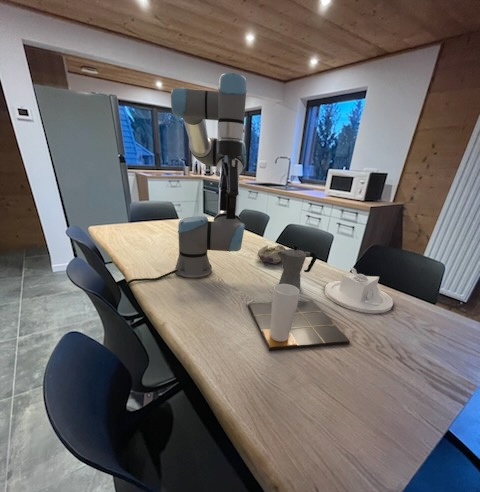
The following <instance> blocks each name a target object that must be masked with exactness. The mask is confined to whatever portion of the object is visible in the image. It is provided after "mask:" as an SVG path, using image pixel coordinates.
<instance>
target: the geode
mask: <svg viewBox="0 0 480 492" xmlns="http://www.w3.org/2000/svg"><path fill="white" fill-rule="evenodd" d="M284 250H287V248H285V247H284V246H283V245H281V244H278V245H277V246H273V247H272V246H270V247H269V245H265V246H263V247H261V248H260V249H258V251H257V254H256V257H258V258H259V260H260V261H261V262H263V263H264V262H266V263H269V264H273V265H276V264H278V263H282V260H281V258H280V256H279V255H278V254H277V253H278V252H280V251H284Z"/></svg>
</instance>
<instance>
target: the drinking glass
mask: <svg viewBox="0 0 480 492" xmlns="http://www.w3.org/2000/svg"><path fill="white" fill-rule="evenodd" d="M300 290H301V289H300ZM300 290H299V289H298V288H297V287H295V286H293V285H289V284H279V283H278V284H276V285H274V286H273V291H272V296H271V302H272V308H271V329H270V336H271V338H272V339H274V340H275V341H279V342H283V341H286V340H287V339H288V338H289V334H290V330H291V326H292V323H293V319H294V316H295V312H296V309H297V305H298V301H300V300H299V299H300V292H301V291H300Z"/></svg>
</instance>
